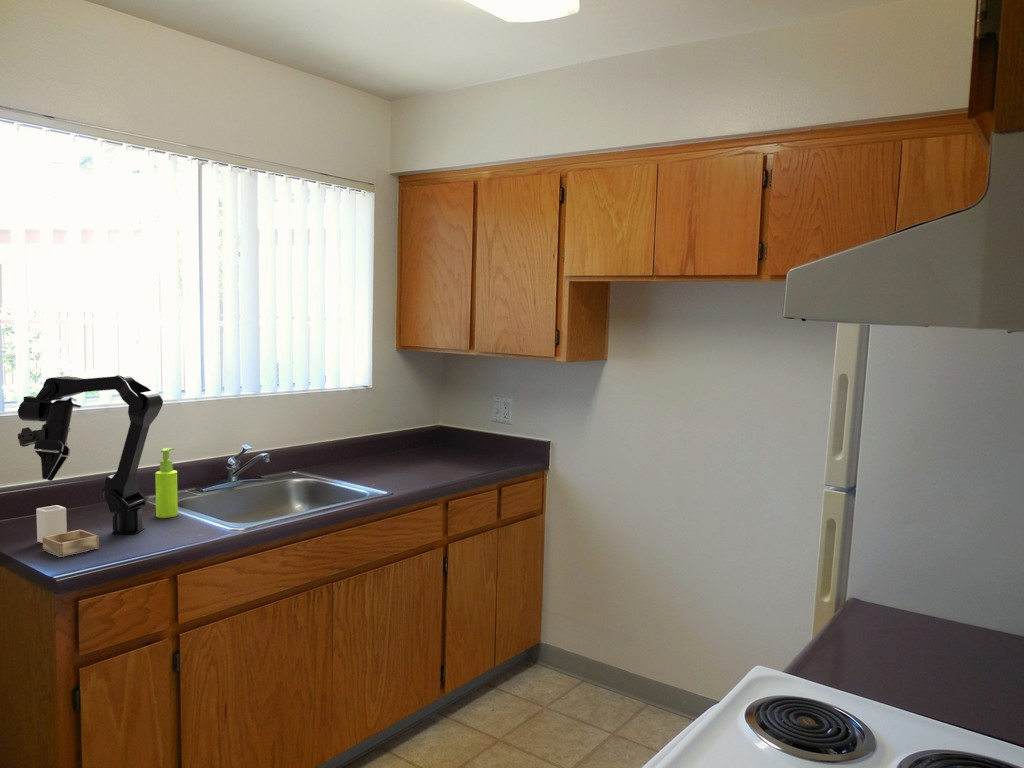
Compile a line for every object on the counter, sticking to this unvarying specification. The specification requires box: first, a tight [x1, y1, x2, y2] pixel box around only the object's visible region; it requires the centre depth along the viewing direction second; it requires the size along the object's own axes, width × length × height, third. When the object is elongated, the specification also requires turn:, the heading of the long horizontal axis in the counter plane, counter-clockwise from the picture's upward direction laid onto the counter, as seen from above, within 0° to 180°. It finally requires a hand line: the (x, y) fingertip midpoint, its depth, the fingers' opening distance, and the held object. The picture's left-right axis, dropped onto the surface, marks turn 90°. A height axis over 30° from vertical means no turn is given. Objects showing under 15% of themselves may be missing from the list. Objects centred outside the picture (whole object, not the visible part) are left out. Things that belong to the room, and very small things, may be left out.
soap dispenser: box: [154, 447, 179, 519], centre depth 225 cm, size 6×7×20 cm
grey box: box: [35, 504, 68, 543], centre depth 196 cm, size 5×5×9 cm
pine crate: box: [42, 529, 100, 556], centre depth 190 cm, size 9×9×4 cm
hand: (47, 479), depth 203 cm, fingers open, 9 cm apart
